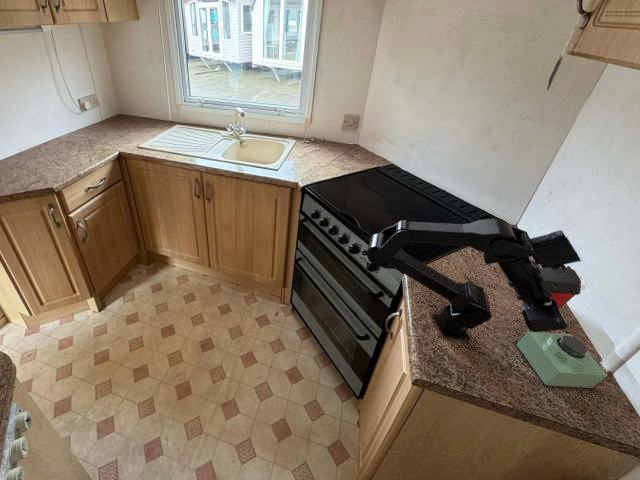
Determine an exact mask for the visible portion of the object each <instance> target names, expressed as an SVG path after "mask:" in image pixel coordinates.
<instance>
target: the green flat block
mask: <svg viewBox="0 0 640 480" xmlns="http://www.w3.org/2000/svg"><path fill="white" fill-rule="evenodd" d="M565 335H568V336H572V337H574V336H573V335H572V334H571V333H559V332H558V333H556V332H543V331H542V332H532V331H527V332H526V333H525V334H524V336H522V338H521V339H519V341H517V343H516V344H515V345H516V346H517V347H518V349H519V350H520V352H521V353H522V354H523V356H524V357H525V359H526V360H527V362H528V363H529V364H530V366H531V367H532V369H533V370H534V371H535V373H536V374H537V375H538V376H539V378H540V380H541V381H542V383H543V384H544V385H545V386H552V387H570V388H586V389H587V388H588V389H589V388H590V389H592V388H594V387H595V386H597V385H598V384H599V383H601V381H603V380H605V379H606V378H607V377H608V376H609V375H608V374H607V372H606V371H605V370H604V369H603V368H602V367H601V366H600V364H599V363H598V362H597V361H595V359H594V358H593V357H592V356H591V354H590V352H589V351H588V350H587V353H585V354H584V355H583V356H582V357H581V358H575V357H572V356H570V355H568V354H567V353H566V352H564V351H563V350H562V349H561V348H560V347H559V345H558V341H559V340H560V339H561V338H562V337H563V336H565Z"/></svg>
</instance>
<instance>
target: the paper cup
mask: <svg viewBox="0 0 640 480" xmlns="http://www.w3.org/2000/svg"><path fill="white" fill-rule="evenodd" d="M560 268H561V267H560ZM577 275H578V277H579V278H580V280H581V290H580V292H581V291H584V290H585V288H586V280H585V279H583V277H582V276H580V275H579V274H578V273H577ZM552 295H553V297H550V299H553V298H555V301H556V303H557V305H558V308H559V310H560V309H561V308H563V306H565V305H566V304H567V303H568V302H569V301H570V300H571V299H573V298H574V297H575V296H576V295H572V294H561V293H553V292H552Z"/></svg>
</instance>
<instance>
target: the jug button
mask: <svg viewBox="0 0 640 480" xmlns="http://www.w3.org/2000/svg"><path fill="white" fill-rule="evenodd" d="M572 336H573V335H572ZM572 336H568V335H565V336H563V337H562V338H561V339H560V340H559V341H558V345H559V347H560V348H561V349H562V350H563V351H564V352H566V353H567V354H568V355H570V356H572V357H575V358H581V357H582V356H583V355H584V354H585V353H587V351H588V348H587V346H586V345H585V344H584V343H583V342H582V341H581V340H579V339H578V338H576V337H574V336H573V337H572Z"/></svg>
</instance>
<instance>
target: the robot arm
mask: <svg viewBox="0 0 640 480" xmlns="http://www.w3.org/2000/svg"><path fill="white" fill-rule="evenodd" d="M408 243H422V244H423V243H425V244H439V245H452V246H463V247H469V248H471V249H474V250H476V251H478V252H480V253H482V256H483V259H484V263H485V264H486V265H491V264H495V263H497V265H498V267H499V268H500V270H501V271H502V273H503V275H504V276H505V278H506V281H507V284H508V286H509V287H510V288H512V289H513V290H514V293H515V296H516V299H517V300H518V301H522V302H521V307H522V309H523V310H521V314H522V316H523V319H524V323H525V325H526V327H527V329H528V330H529V332H542V333H543V332H551V331H552V332H553V331H560V330H566V329H568V327H569V326H568V323H567V321H566V319H565V317H564V315H563V313H562V312H561V310H560V309H559V308H558V305H557V303H556V301H555V298H553V299H550V297H553V295H552V292H553V293H561V294H572V295H575V296H578V295H580V294H581V291H582V290H581V280H580V278H579V277H578V275H579V274H578V273H577V271H576V270H575V269H573V268H571V266H570V265H568V264H574V263H579V262H582V259H581V258H580V256H579V254H578V252H577V250H576V249H575V248H574V246H573V244H572V242H571V240H569V238H568V236H566V235H565V233H564V231H563V230H557V231H553V232H550V233H548V234H544V235H539V236H536V237H530V235H529V233H528V231H526V230H523V229H521V228H518V227H516V226H513V225H511V224H510V223H509V222H508V221H506V220H505V219H502V218H488V219H487V218H485V219H477V220H475V221H472V222H470V223H447V222H445V223H444V222H427V221H426V222H423V221H410V220H407V219H402V220H399V221H398V222H396V223H395V224H394V225H390V226H388V227H386V228H384V229H383V230H381V231H380V232H379V233H375V234H372V235H371V236H370V237H369V242H368V246H367V251H366V256H367V260H368V261H369V262H370V263H372V264H373V265H376V266H378V267H381V268H383V269H386V270H396V271H399V272H400V273H402V274H404V275H405V276H407V277H409V278H410V279H412V280H414V281H416V283H419V284H420V285H422V286H424V287H425V288H427V289H429V290H430V291H432V292H434V293H435V294H437V295H439V296H440V297H442V298H444V299H445V300H447V301H448V302H449V304H448V305H447V306H444V307H443V309H442V310H441V312H440V314H434V315H433V319H434V321H435V323H436V324H437V326H438V328H439V330H440V332H441V334H442V335H443V338H451V339H452V338H453V339H454V338H455V339H469V335H468V333H467V331H468V330H472V329H474V328H476V327H478V326H480V325H482V324H484V323H487V322H489V321H490V320H491V319H492V316H493V315H492V312H491V311H492V309H491V306H490V302H489V297H488V294H487V293H486V291H485V290H484V287H482V286H479V285H477V284H475V283H474V282H473V281H471V280H467V281H466V282H465V283H463V282H456V281H454V280H453V279H451V278H449V277H448V276H446V275H444V274H442V273H441V272H439V271H437V270H436V269H434V268H432V267H430V266H429V265H427V264H425V263H423V262H422V261H420V260H419V259H417V258H415V257H413V256H412V255H410V254H408V253H407V252H405V250H404V249H403V247H404V246H405V245H407V244H408ZM530 257H531V258H532V259H533V260H531V258H530ZM566 265H567V266H566ZM560 267H561V268H560ZM577 274H578V275H577ZM580 290H581V291H580Z"/></svg>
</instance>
